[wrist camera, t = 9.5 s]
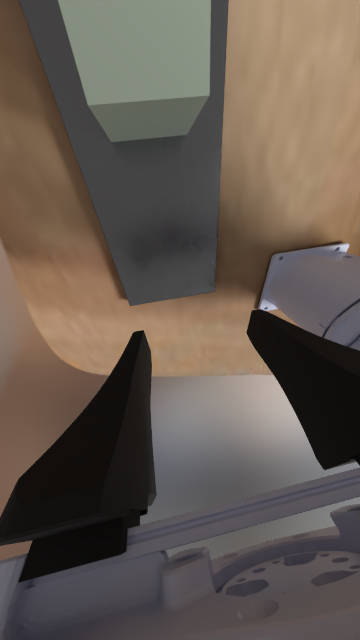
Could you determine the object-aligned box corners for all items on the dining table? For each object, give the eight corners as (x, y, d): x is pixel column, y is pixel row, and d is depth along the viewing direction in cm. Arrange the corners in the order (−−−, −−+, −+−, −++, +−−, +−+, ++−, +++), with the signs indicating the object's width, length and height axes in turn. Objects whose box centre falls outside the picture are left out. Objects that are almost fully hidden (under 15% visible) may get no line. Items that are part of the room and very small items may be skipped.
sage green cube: (179, -28, 7) (215, -294, 3) (186, 134, 10) (209, 95, 6) (69, -25, 7) (-33, -317, 3) (111, 142, 10) (88, 105, 6)
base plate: (225, -133, 7) (299, -456, 3) (211, 287, 19) (224, 305, 16) (-22, -135, 6) (-224, -535, 3) (131, 300, 18) (127, 322, 15)
